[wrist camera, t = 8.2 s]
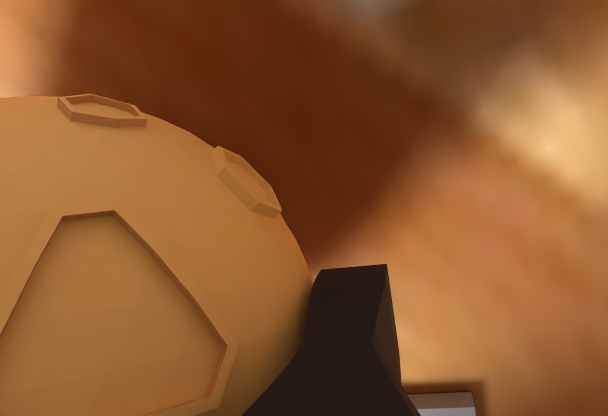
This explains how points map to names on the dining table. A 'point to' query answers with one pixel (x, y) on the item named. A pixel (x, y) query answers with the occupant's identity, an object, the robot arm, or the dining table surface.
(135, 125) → the stress ball
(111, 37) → the dining table surface
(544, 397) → the dining table surface
